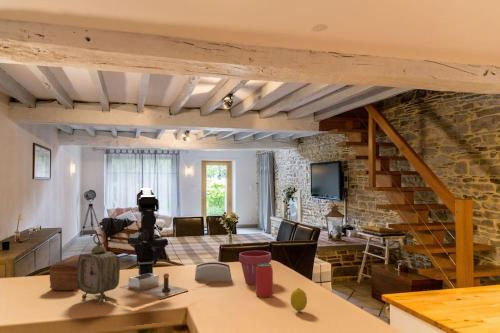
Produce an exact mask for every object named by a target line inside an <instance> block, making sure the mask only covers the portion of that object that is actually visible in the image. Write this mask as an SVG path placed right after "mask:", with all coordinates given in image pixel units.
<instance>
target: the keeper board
mask: <svg viewBox="0 0 500 333" xmlns="http://www.w3.org/2000/svg"><path fill="white" fill-rule="evenodd" d="M162 277H163V283H161V282H159V285H155V286H152V287H148V288H145V289H141V290H137V289H133V288H129V284H126V285H123V286H119V288H121V289H124V290H128V291H132V292H138V293H141V294H145V295H148V296H152V297H157V298H159V299H158V300H159V301H162V300H166V299H169V298H173V297H175V296H177V295H178V296H179V295H182V294H185V293H188V292H189V290H188V288H185V287H181V286H180V287H179V286H175V285H170V284H169V282H170V281H169V277H170V275H169V273H167V272H165V273H164V274H163V276H162Z"/></svg>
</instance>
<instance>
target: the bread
mask: <svg viewBox="0 0 500 333" xmlns="http://www.w3.org/2000/svg"><path fill="white" fill-rule="evenodd" d="M81 254H82V253H80V254H75V255H71V256H69V257H67V258H64V259H62V260H59V261H57V262H54V263H53V264H52V265H51V266H50V267H49V270H48V272H49V283H50V285H49V288H50V289H52V290H54V291H73V290H76V289H79V286H78V272H77V271H78V259H79V256H80V255H81Z"/></svg>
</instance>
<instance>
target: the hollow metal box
mask: <svg viewBox="0 0 500 333" xmlns="http://www.w3.org/2000/svg"><path fill="white" fill-rule="evenodd" d="M159 280H160V278H159V275H158V274H154V273H153V274H150V273H146V274H142V275H139V274H138V275H134V276H129V277H128V285H129V288H133V289H137V290H141V289H145V288H148V287H152V286H155V285H159V283H160V281H159Z"/></svg>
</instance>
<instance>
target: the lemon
mask: <svg viewBox="0 0 500 333" xmlns="http://www.w3.org/2000/svg"><path fill="white" fill-rule="evenodd" d="M307 304H308V297H307V294H306V292H305V291H304V290H303V289H301V288H300V287H297V288H295V289H294V290H293V291H292V292H291V294H290V305H291V307H292V308H293V309H294V310H295V311H297V312H298V313H300V312H301V311H303V310H305V308H306V307H307Z"/></svg>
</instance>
